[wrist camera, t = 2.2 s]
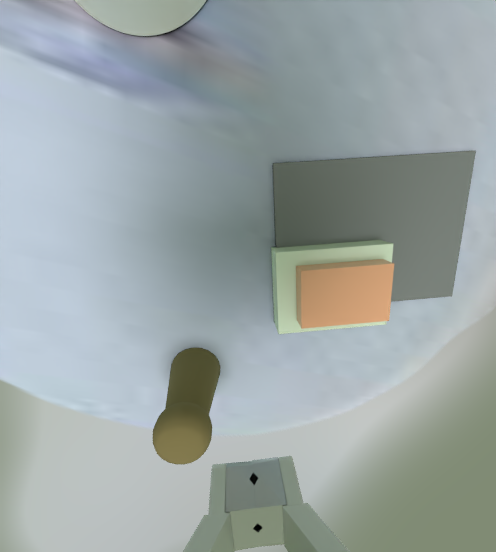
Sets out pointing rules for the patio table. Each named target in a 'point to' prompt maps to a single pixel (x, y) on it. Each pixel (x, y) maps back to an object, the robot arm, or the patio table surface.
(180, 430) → the cork
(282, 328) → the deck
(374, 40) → the patio table surface
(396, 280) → the mat
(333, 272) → the block
